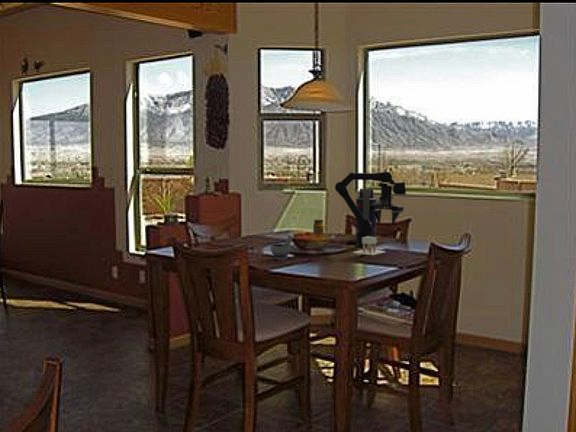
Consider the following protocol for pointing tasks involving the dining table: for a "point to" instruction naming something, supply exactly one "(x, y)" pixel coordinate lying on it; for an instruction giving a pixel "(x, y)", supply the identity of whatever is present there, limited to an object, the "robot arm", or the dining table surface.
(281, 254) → the mortar and pestle
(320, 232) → the condiment
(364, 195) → the dark blue bottle
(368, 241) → the stool
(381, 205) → the robot arm
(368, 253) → the mat
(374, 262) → the dining table surface
